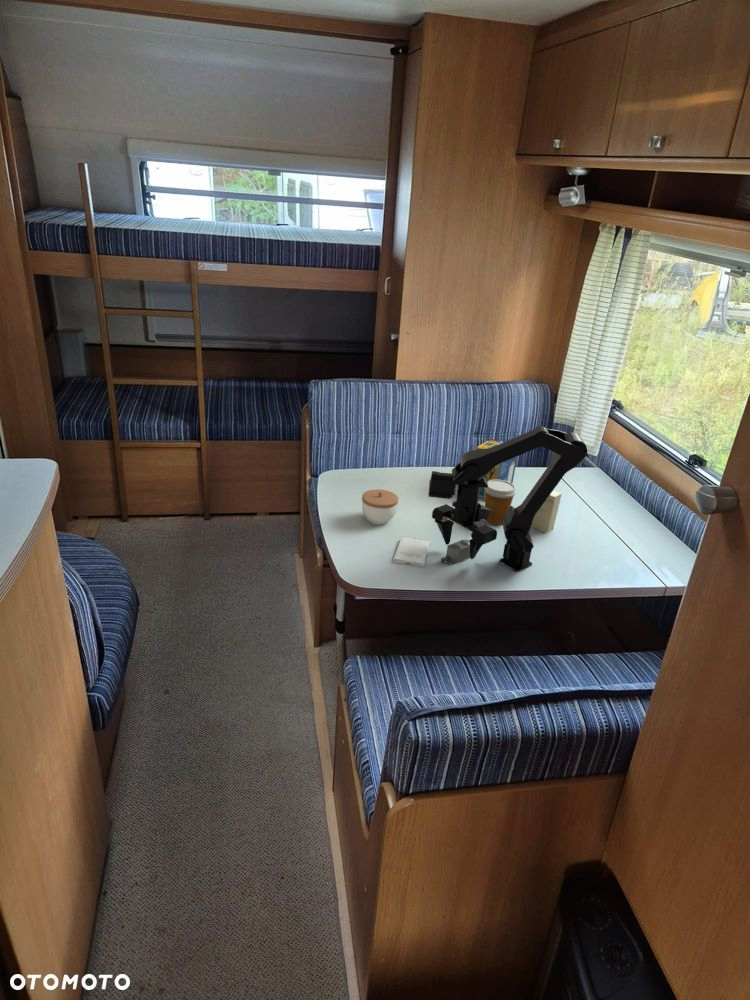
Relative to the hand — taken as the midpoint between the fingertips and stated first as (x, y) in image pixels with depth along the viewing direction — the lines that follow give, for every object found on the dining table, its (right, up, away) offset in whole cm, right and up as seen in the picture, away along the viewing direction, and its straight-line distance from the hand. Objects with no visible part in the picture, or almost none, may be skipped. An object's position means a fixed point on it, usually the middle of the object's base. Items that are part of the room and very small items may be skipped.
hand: (459, 551), depth 177 cm
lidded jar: (-22, +8, +18) cm, 29 cm away
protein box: (+16, +17, +43) cm, 49 cm away
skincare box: (+28, +5, +21) cm, 35 cm away
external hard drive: (-13, -1, +2) cm, 13 cm away
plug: (0, -2, +1) cm, 2 cm away
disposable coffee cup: (+14, +7, +23) cm, 28 cm away
